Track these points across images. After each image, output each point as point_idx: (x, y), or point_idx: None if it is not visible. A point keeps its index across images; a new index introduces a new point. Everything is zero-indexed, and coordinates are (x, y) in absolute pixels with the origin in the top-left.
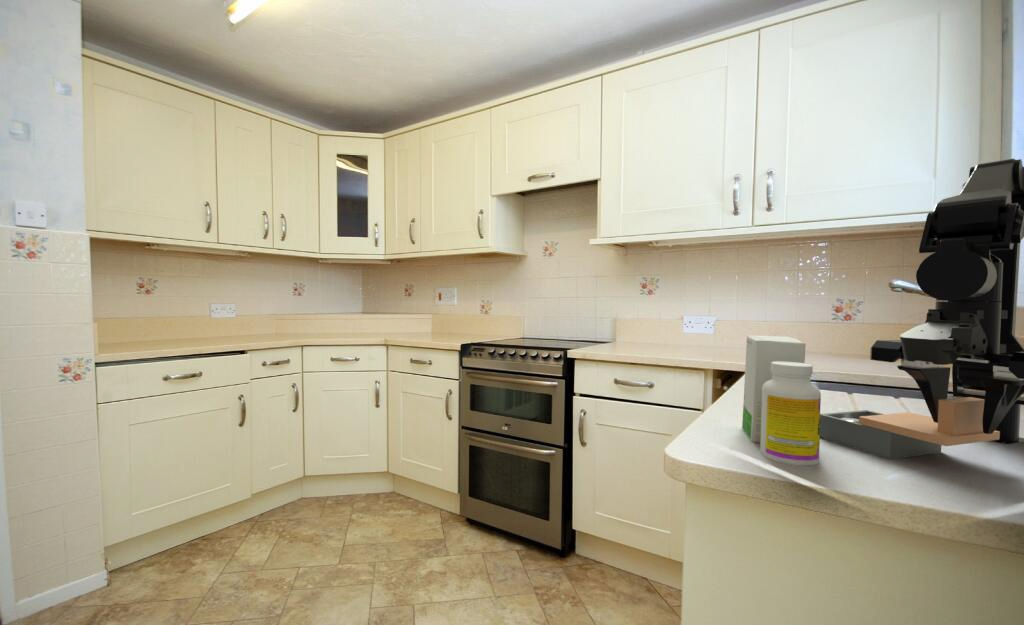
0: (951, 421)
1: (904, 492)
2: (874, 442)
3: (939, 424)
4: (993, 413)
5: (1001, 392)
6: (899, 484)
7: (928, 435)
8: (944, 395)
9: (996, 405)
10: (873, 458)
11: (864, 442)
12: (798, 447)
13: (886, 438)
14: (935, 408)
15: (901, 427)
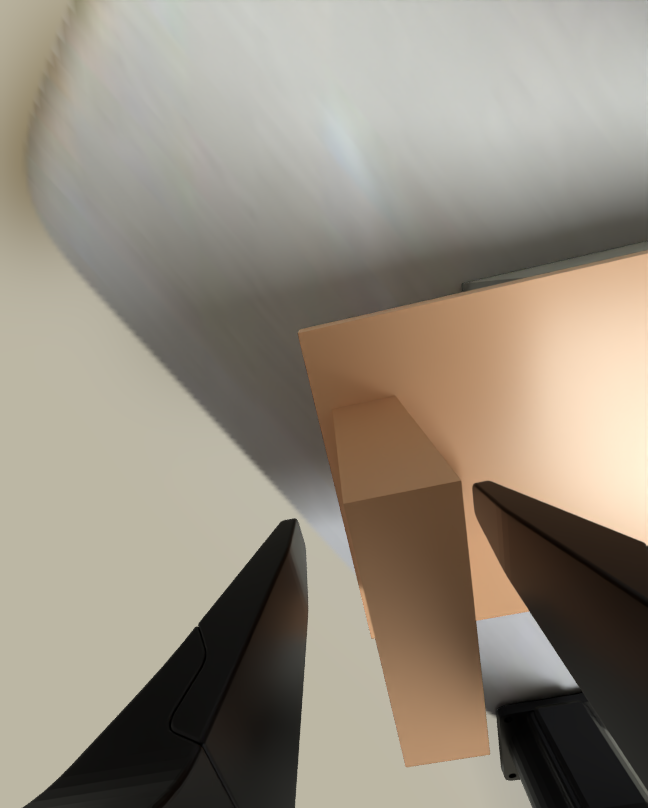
0: (348, 434)
1: (213, 53)
2: (554, 266)
3: (397, 409)
4: (222, 597)
5: (46, 796)
6: (283, 114)
7: (371, 315)
8: (581, 666)
9: (178, 649)
10: (514, 270)
11: (586, 257)
12: None
13: (525, 275)
14: (514, 516)
15: (500, 287)
